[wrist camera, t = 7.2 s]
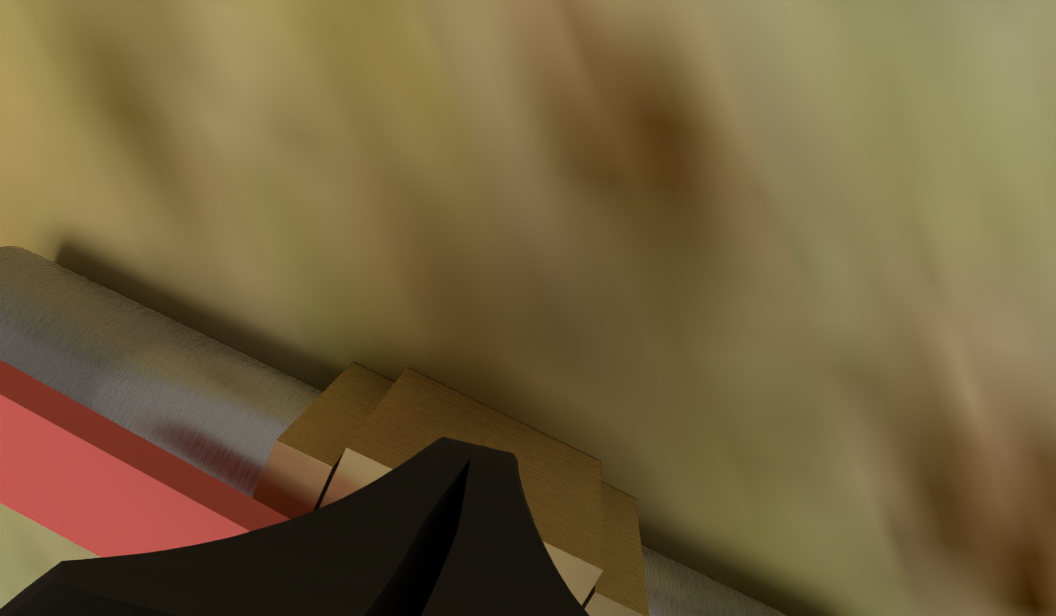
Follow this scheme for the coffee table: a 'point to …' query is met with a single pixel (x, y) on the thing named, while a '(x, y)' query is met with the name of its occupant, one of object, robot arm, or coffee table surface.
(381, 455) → the valve pipe
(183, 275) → the coffee table surface
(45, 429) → the lever
